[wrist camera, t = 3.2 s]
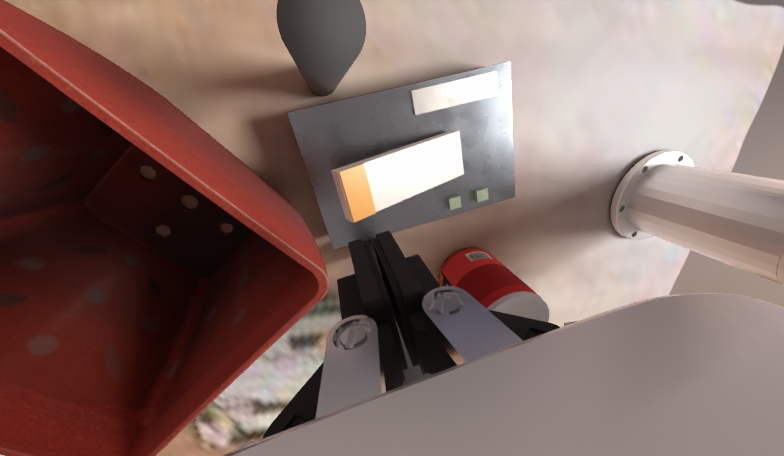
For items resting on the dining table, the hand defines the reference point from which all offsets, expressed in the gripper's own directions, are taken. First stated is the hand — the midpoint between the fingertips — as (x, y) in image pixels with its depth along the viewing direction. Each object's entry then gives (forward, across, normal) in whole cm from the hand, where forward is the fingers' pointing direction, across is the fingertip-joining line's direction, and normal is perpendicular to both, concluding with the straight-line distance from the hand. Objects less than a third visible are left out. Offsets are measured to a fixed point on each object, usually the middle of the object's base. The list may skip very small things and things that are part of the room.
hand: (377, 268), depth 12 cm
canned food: (+21, -12, +17) cm, 29 cm away
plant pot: (+21, +15, -1) cm, 26 cm away
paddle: (+13, -5, 0) cm, 14 cm away
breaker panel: (+20, -7, 0) cm, 22 cm away
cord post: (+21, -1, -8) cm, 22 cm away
